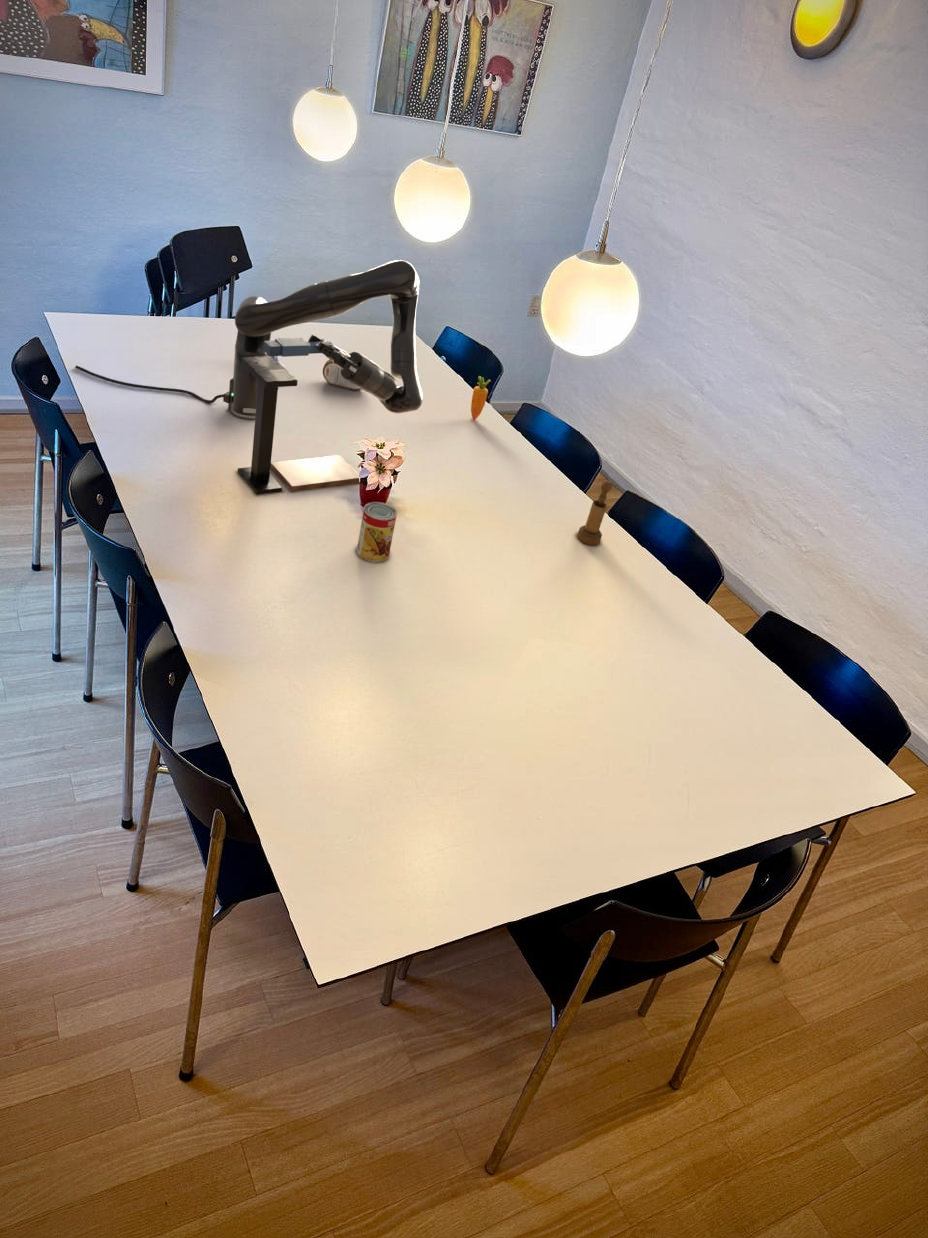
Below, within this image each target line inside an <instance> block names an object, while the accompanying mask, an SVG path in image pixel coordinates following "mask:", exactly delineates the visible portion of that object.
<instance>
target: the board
mask: <svg viewBox="0 0 928 1238" xmlns="http://www.w3.org/2000/svg"><path fill="white" fill-rule="evenodd" d="M270 470H272V472H274V473H275V475H276V476H277V477H278V478H279V479H280V480H281V482H283V484H284V485H285V486H286V487H287V488H288V489H289V491H290V492H298V491H307V490H315V489H323V488H331V487H337V486H345V485H354V484H360V483H359V475H360V473H358V471H356V470H355V468H353V466H351V465H350V464H349V462H347V461H346V460H345V459H344V458H343V456H341V455H340V454H337V455H336V454H335V455H327V456H319V457H308V458H298V459H289V460H281V461H271V467H270Z"/></svg>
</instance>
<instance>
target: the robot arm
mask: <svg viewBox="0 0 928 1238" xmlns="http://www.w3.org/2000/svg"><path fill="white" fill-rule="evenodd" d="M420 287H421V282H420V278H419V275H418V273H417V271H416V269H415V268H414V266H413V264H411V263H410V262H408V261H405V260H401V259H400V260H398V259H397V260H393V261H389V262H387V263H384V264H382V265H380V266H377V267H375V268H371V269H369V270H366V271H363V272H359V273H354V274H350V275H345V276H343V277H342V276H341V277H337V278H333V279H329V280H325V281H321V282H316V283H312V284H310V285H307V286H305V287H303V288H301V289H299V290H297V291H294V292H293V293H291V294H290V295H287V296H286V297H283V298H280V299H277V300H273V301H269V302H268V301H267V300H266V299H264V298H263V297H260V296H256V295H254V296H253V295H252V296H248V297H246V298H244V299H243V301H241V302H240V304H239V306H238V309H237V311H236V313H235V316H234V326H235V328H236V329H237V333H236V340H235V343H234V356H233V373H232V378H231V379H230V380H229V387H228V388H229V390H228V391H227V392H225V393H222V394H217V395H215V396H214V397H213V398H212V399H205V398H202V397H201V396H200V395H198V394H196V393H194V392H192V391H189V390H186V389H180V388H172V387H161V386H152V385H144V384H136V383H130V382H126V381H121V380H116V379H112V378H110V377H106V376H103V375H100V374H98V373H95V372H93V371H91V370H88V369H86V368H84V367H81V366H79V365H75V367H74V368H75V369H77V370H79V371H81V372H84V373H86V374H88V375H90V376H92V377H95V378H98V379H101V380H103V381H107V382H109V383H112V384H113V383H114V384H118V385H121V386H126V387H131V388H137V389H146V390H153V391H154V390H155V391H162V392H163V391H164V392H173V393H174V392H177V393H181V394H186V395H190V396H192V397H194V398H196V399H197V400H199V401H201V402H204V403H207V404H212V403H213V404H214V403H215V402H216V401H217V400H218V399H221V398H223V399H222V401H223V403H226V404H227V407H228V408H227V411H229V412H230V413H231V414H232V415H234V416H236V417H237V418H240V419H244V420H245V419H246V420H255V415H256V403H257V390H258V379H257V378H256V377H255V376H254V375H253V374H252V373H251V372H250V371H249V370H248V369H247V368H246V367H245V366H244V365H243V364H242V357H268V354H267V353H265V352H264V351H263V350H264V341H271V339H272V338H271V337H272V333H273V332H276V331H279V330H282V329H285V328H288V327H291V326H297V325H302V324H307V323H311V322H315V321H319V320H325V319H328V318H333V317H336V316H340V315H343V314H345V313H348V312H349V311H351V310H353V309H354V308H356V307H357V306H360V305H361V304H363V303H364V302H367V301H369V300H372V299H375V298H381V297H386V296H389V297H390V302H391V308H392V331H391V337H390V345H389V347H390V348H389V350H390V351H389V352H390V353H389V354H390V355H389V356H390V357H389V359H390V373H388V371H385V370H384V369H383V368H382V367H380V366H379V365H378V364H377V363H376V362H374V361H373V360H371V359H369V358H368V357H367V356H365V355H364V354H362V353H360V352H359V351H352V352H350V353H348V352H347V351H345V350H344V349H342V348H339V347H337V346H336V345H335V344H333V345H334V346H335V347H337V348H338V352H337V350H334V349H332V348H330V347H329V346H327V345H326V344H324V343H323V342H321V341H326V340H325V339H323V338H319V337H318V336H317V335H314V334H311V335H310V337H309V339H308V341H307V342H320V344H319V345H318V347H317V350H318V351H319V352H321V353H320V354H322V355H324V356H325V357H326V358H327V359H328V360H332V362H333V363H334V364H335V365H337V366H338V367H339V368H340V369H341V375H342V377H343V378H344V379H346V380H347V381H349V382H350V383H352V384H354V385H355V386H357V387H359V388H360V389H361V390H362V391H364V392H367V393H368V394H370V395H372V396H373V397H375V398H377V399H378V401H379V402H380V403H381V404H382V405H383V407H384V408H385V409H386V410H387V411H388V412H390V413H392V414H402V413H403V414H404V413H410V412H416V411H417V410H419V409H420V408H421V407H422V405H423V400H424V394H423V388H422V385H421V381H420V377H419V374H418V371H417V370H418V369H417V342H416V341H417V340H416V339H417V337H416V316H417V307H418V300H419V294H420ZM332 350H333V351H332ZM395 378H396V379H401V381H402V385H400V386H398V383H397V380H396V379H395Z"/></svg>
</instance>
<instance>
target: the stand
mask: <svg viewBox="0 0 928 1238" xmlns="http://www.w3.org/2000/svg"><path fill="white" fill-rule="evenodd" d="M242 364H243V365H244V366H245V367H246V368H247V369H248V370H249V371H250V372H251V373H252V374H253V375H254V376H255V377H256V378H257V379H258V390H257V403H256V415H255V419H254V426H253V427H254V429H253V430H254V431H253V441H252V454H251V466H248V467H247V466H246V467H238V468H237V473H238V475H240V478H242V479H243V480H244V482H245V483H246V484H247V485H248V487H249V488H250V489H251V491H253V492H254V494H255V495H256V496H259V495H267V494H274V493H281V492H283V487H282V485H281V484H280V483H278V481H277V480H276V479H275V477H273V476H272V474H271V468H270V467H271V462H272V456H273V446H274V445H273V444H274V434H275V425H276V424H275V423H276V414H277V413H276V412H277V404H278V403H277V401H278V391H279V388H287V387H288V388H289V387H297V386H298V381H299V380H298V379H297V378H296V377H295V376H294V375H292V373H290V371H289V370H287V369H286V367H285V368H284V367H283V366H282V365H281V364H280V363H279V362H278V361H277V360H276V359H274V358H273V357H272V356H270V357H242Z"/></svg>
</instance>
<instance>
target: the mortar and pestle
mask: <svg viewBox="0 0 928 1238" xmlns="http://www.w3.org/2000/svg"><path fill="white" fill-rule="evenodd" d="M612 489H613V483H612V482H611V481H610V480H603V481H602V482H601V484H600V490H601V493H600V494H598V495H597V500H593V501H592V503H591V507H590V510H589V513H588V515H587V519H586V523H585V525H582V526H580V527H579V529H578V531H577V533H576V538H577V539H578V541H580V543H583V544H585V545H588V546H597V545H599V544H600V542H601V539H602V537H603V533H602V531H601V530H600V528H601V525H602V522H603V519H604V516H605V514H606V511H607V508H608V504H607V503H605V502H606V500H607V498H608V497H607V496H608V495H607V494H609V492H610V491H611V490H612Z"/></svg>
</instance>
